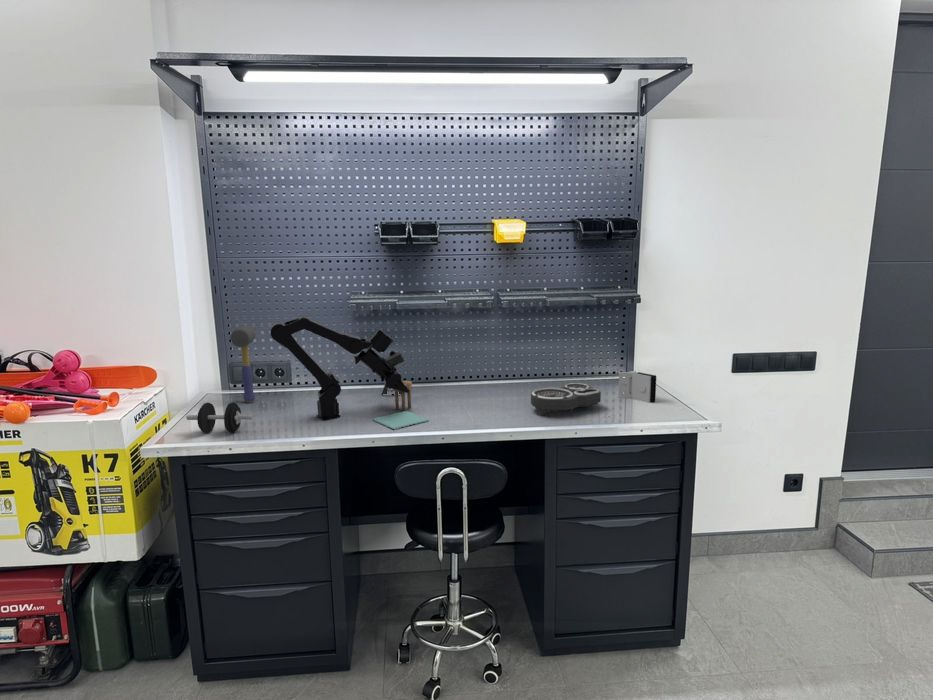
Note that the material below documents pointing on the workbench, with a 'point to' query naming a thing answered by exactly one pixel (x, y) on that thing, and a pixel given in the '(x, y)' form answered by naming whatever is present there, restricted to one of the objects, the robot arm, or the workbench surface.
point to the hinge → (637, 386)
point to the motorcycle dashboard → (564, 397)
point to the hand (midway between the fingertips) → (406, 389)
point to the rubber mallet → (245, 357)
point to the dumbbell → (219, 417)
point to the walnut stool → (409, 386)
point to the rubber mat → (400, 419)
